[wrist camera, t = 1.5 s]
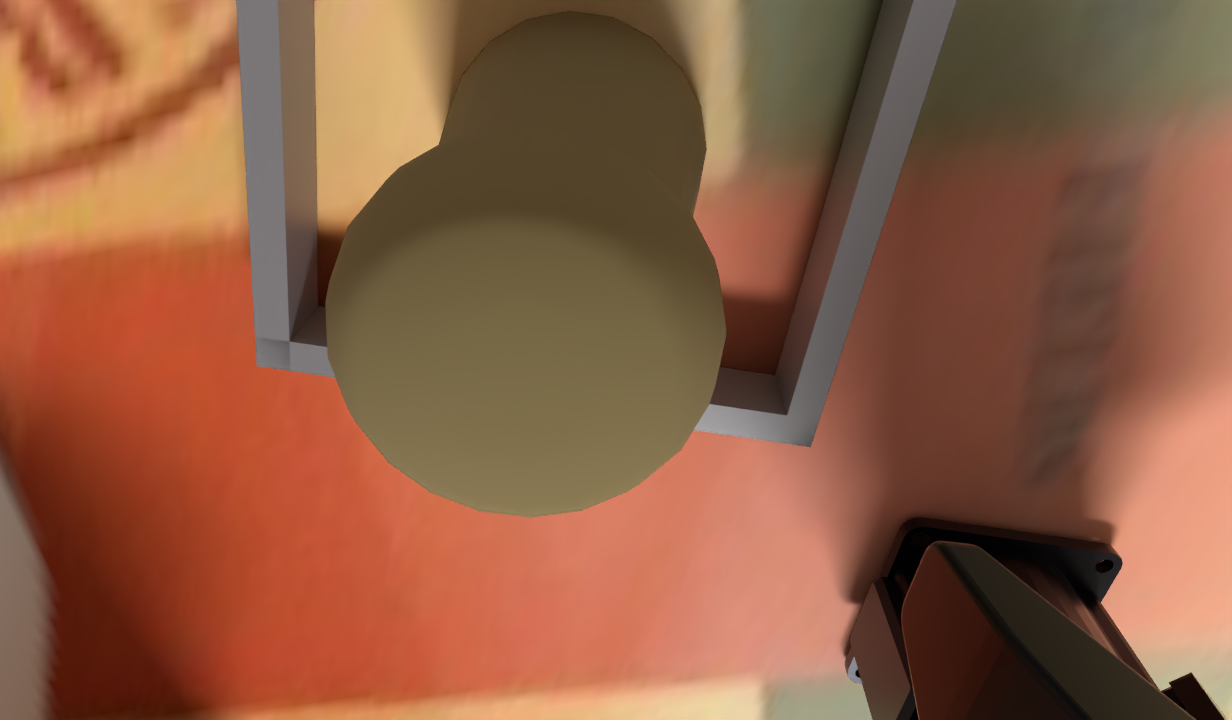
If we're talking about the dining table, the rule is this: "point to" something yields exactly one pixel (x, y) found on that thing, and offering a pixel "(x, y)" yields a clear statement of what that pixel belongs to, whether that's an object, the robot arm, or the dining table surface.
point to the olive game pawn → (537, 278)
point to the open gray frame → (741, 400)
